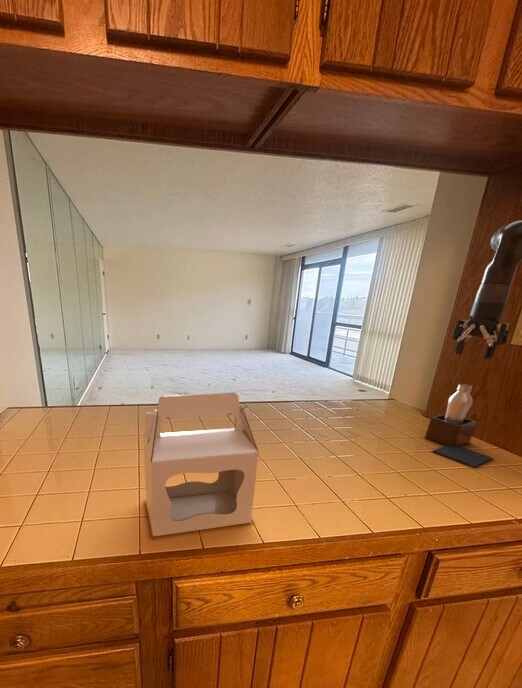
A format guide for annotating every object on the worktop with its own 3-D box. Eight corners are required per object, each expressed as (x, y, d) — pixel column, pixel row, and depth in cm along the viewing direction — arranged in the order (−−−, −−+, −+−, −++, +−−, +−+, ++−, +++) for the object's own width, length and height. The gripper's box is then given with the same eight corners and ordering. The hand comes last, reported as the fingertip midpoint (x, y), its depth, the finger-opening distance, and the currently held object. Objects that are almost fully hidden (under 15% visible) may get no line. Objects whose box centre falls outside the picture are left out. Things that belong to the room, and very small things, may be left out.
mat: (451, 445, 118) (452, 443, 118) (492, 459, 109) (493, 457, 109) (432, 452, 113) (432, 450, 113) (474, 467, 103) (474, 466, 103)
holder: (440, 433, 128) (447, 412, 125) (469, 442, 121) (477, 421, 118) (424, 438, 124) (431, 417, 120) (453, 448, 116) (461, 426, 113)
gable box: (232, 491, 88) (240, 384, 77) (252, 523, 76) (265, 401, 65) (144, 501, 83) (140, 388, 72) (151, 537, 71) (147, 408, 60)
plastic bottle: (436, 435, 126) (453, 381, 119) (458, 439, 123) (477, 385, 115) (434, 440, 122) (452, 385, 114) (458, 445, 118) (478, 389, 110)
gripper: (526, 302, 96) (505, 360, 103) (474, 300, 109) (457, 352, 115) (509, 301, 94) (488, 361, 100) (457, 299, 106) (441, 353, 113)
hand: (472, 356), depth 108 cm, fingers open, 8 cm apart
